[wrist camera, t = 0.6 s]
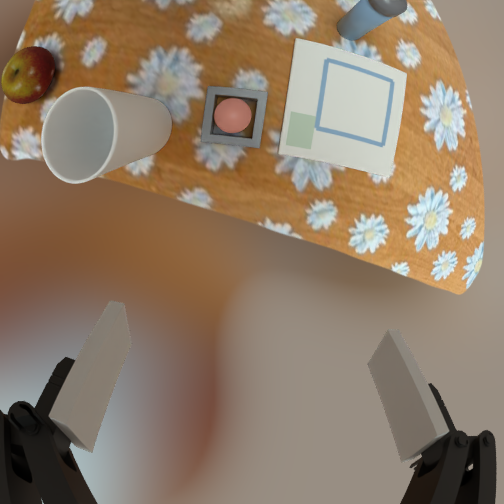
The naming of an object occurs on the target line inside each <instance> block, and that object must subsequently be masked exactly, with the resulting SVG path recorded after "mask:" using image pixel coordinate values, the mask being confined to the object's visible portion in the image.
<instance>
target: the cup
mask: <svg viewBox="0 0 504 504" xmlns="http://www.w3.org/2000/svg"><path fill="white" fill-rule="evenodd" d="M171 130H172V119H171V115H170V113H169V110H168V109H167V107H166V106H165V105H164V104H163V103H162V102H160V101H158V100H156V99H153V98H149V97H145V96H140V95H135V94H130V93H125V92H119V91H114V90H108V89H101V88H94V87H78V88H74V89H71V90H69V91H67V92H66V93H64V94H63V95H61V96H60V97H59V98H58V99H57V100H56V101H55V102H54V104H53V105H52V107H51V108H50V110H49V111H48V113H47V116H46V118H45V121H44V124H43V128H42V136H41V144H42V152H43V156H44V159H45V161H46V163H47V165H48V167H49V169H50V170H51V171H52V173H53V174H54V175H55V176H57V177H58V178H59V179H61V180H63V181H65V182H68V183H83V182H86V181H89V180H91V179H94V178H96V177H98V176H101V175H103V174H105V173H107V172H110V171H112V170H115V169H117V168H119V167H122V166H124V165H127V164H129V163H132V162H134V161H137V160H139V159H142V158H145V157H147V156H150V155H153V154H155V153H156V152H158V151H159V150H161V149H162V148H163V147H164V145H165V144H166V143H167V141H168V139H169V137H170V134H171Z"/></svg>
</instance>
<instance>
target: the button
mask: <svg viewBox="0 0 504 504" xmlns="http://www.w3.org/2000/svg"><path fill="white" fill-rule="evenodd" d="M214 119H215V122H216V124H217V126H218V127H219V128H220V129H221V130H223V131H225V132H228V133H237V132H240V131H242V130H244V129H245V128H246V127H247V126H248V125H249V123H250V120H251V110H250V108H249V106H248V105H247V104H246V103H245V102H244V101H242V100H240V99H237V98H230V99H226V100H224V101H222V102H221V103H220V104H219V105H218V106H217V108H216V110H215V113H214Z"/></svg>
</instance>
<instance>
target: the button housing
mask: <svg viewBox="0 0 504 504" xmlns="http://www.w3.org/2000/svg"><path fill="white" fill-rule="evenodd" d="M267 95H268V92H263V91H256V90H248V89H239V88H229V87H216V86H208V89H207V96H206V103H205V111H204V118H203V127H202V135H201V142H207V143H218V144H228V145H238V146H246V147H254V148H260V142H261V135H262V129H263V122H264V115H265V108H266V102H267ZM217 96H218V97H230V98H240V99H249V100H257V107H256V114H255V121H254V128H253V135H252V138H247V137H238V136H229V135H219V134H213V126H214V113H215V110H216V103H217Z"/></svg>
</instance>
